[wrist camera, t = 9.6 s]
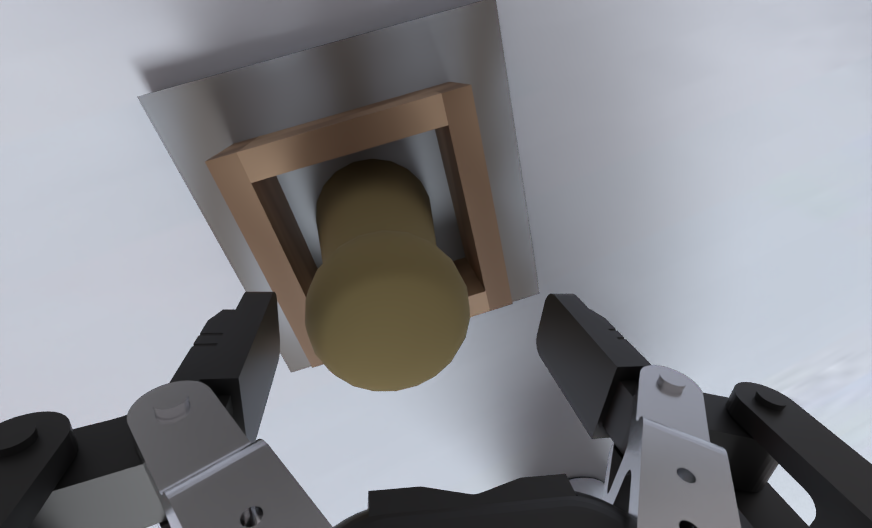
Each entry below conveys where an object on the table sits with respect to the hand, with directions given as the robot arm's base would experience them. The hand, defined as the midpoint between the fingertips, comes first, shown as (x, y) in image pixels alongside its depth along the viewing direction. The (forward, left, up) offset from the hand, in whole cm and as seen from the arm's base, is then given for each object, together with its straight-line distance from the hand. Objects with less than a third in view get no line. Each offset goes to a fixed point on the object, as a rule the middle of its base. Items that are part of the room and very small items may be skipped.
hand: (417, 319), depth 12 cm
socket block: (0, +1, -12) cm, 12 cm away
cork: (+1, +1, -11) cm, 11 cm away
